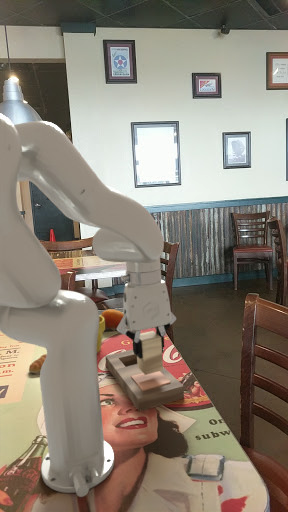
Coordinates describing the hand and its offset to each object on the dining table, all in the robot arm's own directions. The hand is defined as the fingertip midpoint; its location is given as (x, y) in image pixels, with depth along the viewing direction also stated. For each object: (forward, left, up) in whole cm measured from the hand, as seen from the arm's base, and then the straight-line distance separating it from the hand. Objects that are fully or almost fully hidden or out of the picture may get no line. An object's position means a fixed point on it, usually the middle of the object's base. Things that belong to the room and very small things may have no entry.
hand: (149, 352), depth 87 cm
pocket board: (+6, 0, -10) cm, 11 cm away
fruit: (+44, -5, -10) cm, 45 cm away
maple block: (0, 0, -4) cm, 4 cm away
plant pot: (+30, +7, -10) cm, 32 cm away
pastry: (+25, +20, -10) cm, 34 cm away
